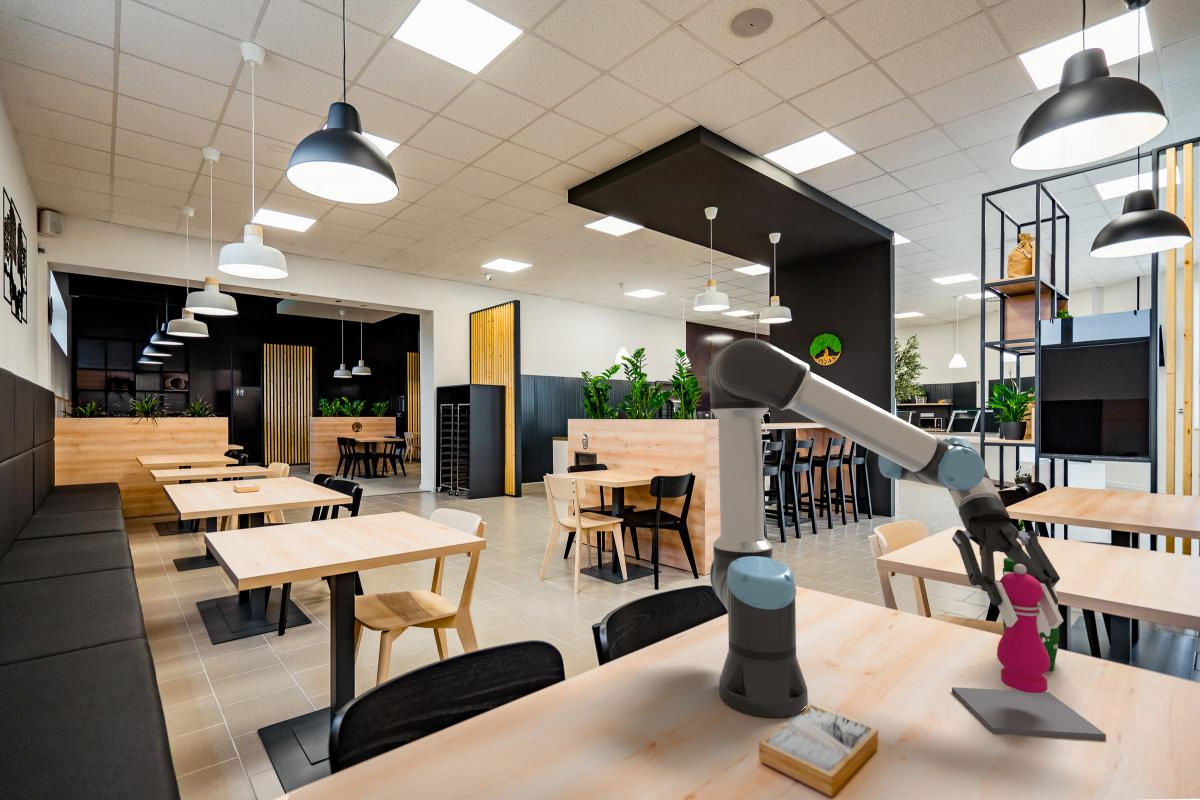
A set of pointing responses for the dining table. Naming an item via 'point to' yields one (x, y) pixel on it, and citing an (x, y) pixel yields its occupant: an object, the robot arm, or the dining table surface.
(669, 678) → the dining table surface
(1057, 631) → the milk carton
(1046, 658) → the pepper mill
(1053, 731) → the rubber mat
